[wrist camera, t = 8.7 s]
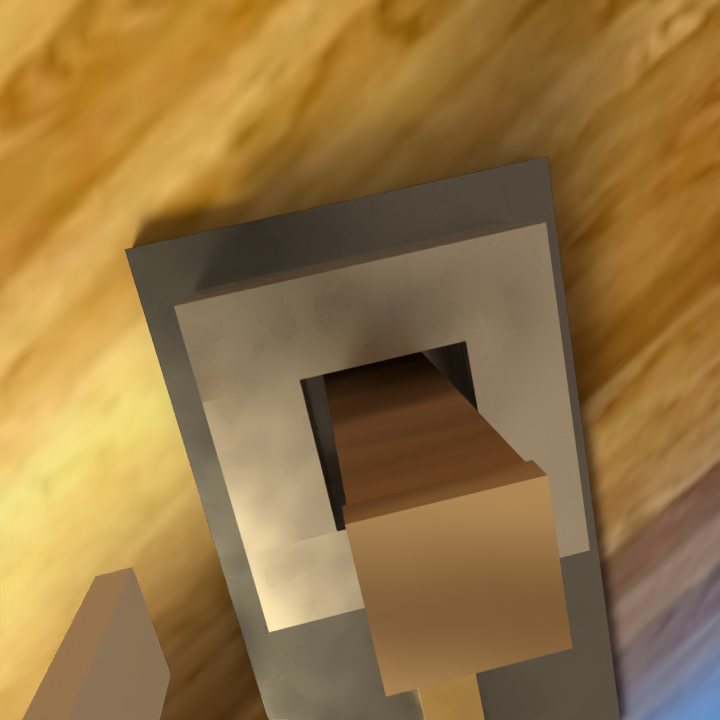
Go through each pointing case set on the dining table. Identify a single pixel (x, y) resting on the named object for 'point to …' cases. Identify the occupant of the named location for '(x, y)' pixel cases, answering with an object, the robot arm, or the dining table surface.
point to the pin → (452, 700)
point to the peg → (442, 528)
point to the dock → (314, 427)
